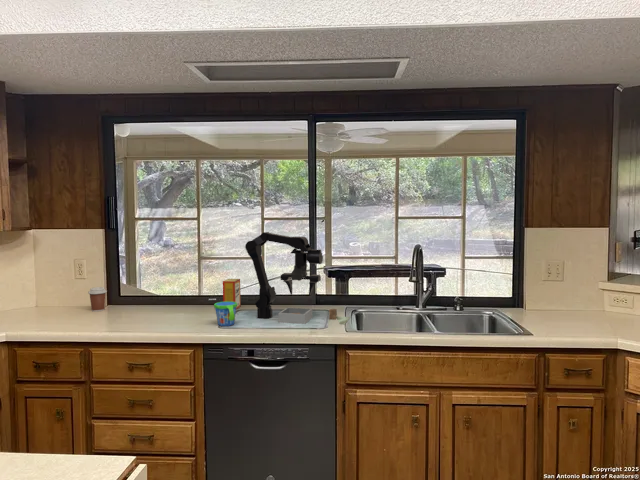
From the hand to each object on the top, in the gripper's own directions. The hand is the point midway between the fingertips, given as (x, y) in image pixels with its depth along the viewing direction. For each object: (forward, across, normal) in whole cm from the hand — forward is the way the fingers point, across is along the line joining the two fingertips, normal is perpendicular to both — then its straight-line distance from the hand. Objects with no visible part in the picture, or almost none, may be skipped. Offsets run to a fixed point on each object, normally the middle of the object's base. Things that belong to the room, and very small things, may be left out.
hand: (300, 295), depth 225 cm
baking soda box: (+14, -45, +20) cm, 51 cm away
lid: (+13, +15, +5) cm, 21 cm away
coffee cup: (+15, -114, -1) cm, 115 cm away
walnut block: (+12, -2, -1) cm, 12 cm away
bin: (+13, -2, -1) cm, 13 cm away
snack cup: (+14, -32, -15) cm, 38 cm away
